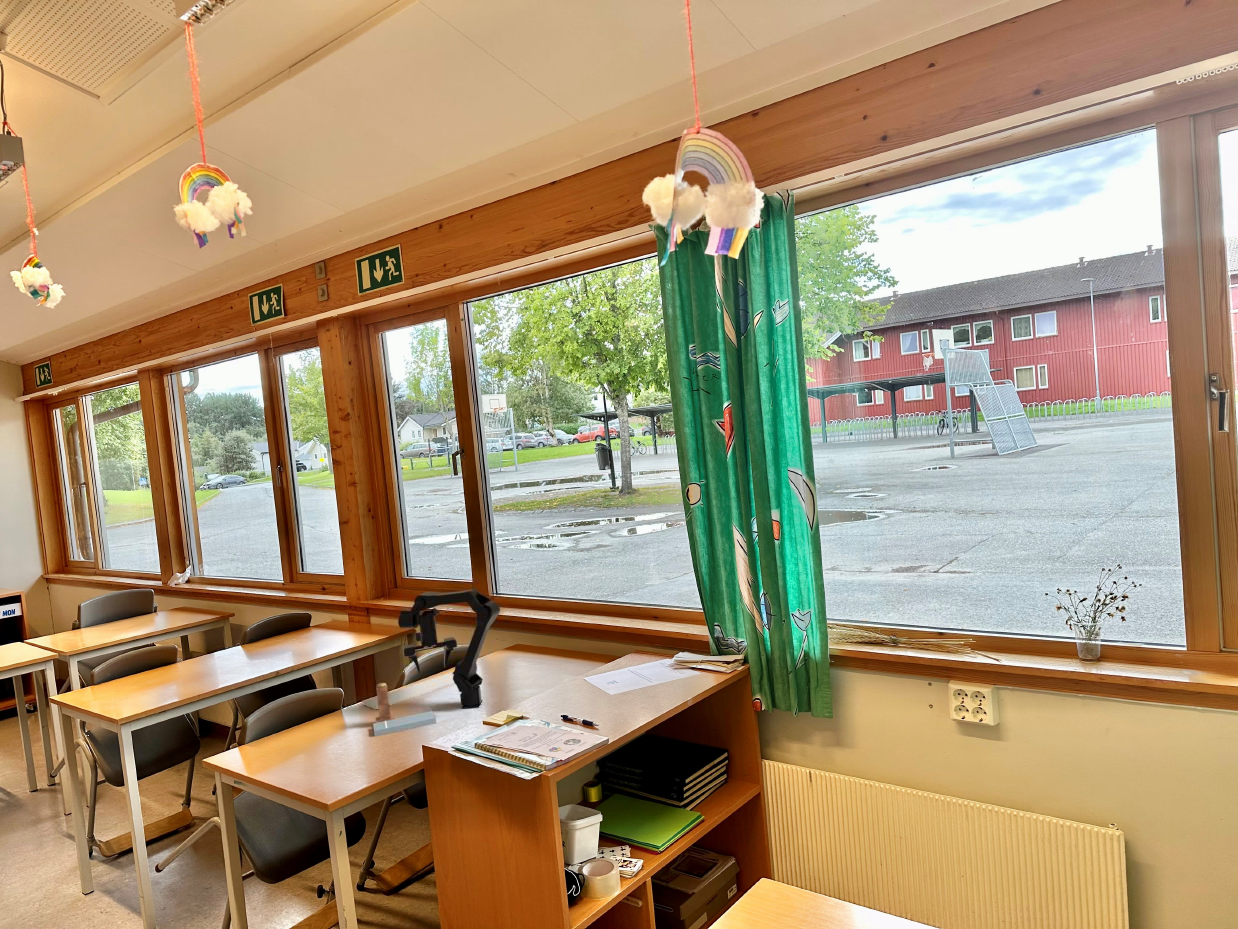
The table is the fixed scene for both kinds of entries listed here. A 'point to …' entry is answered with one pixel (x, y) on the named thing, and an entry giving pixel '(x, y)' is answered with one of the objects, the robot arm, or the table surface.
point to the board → (404, 723)
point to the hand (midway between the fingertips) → (432, 670)
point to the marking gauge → (383, 703)
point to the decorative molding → (414, 690)
